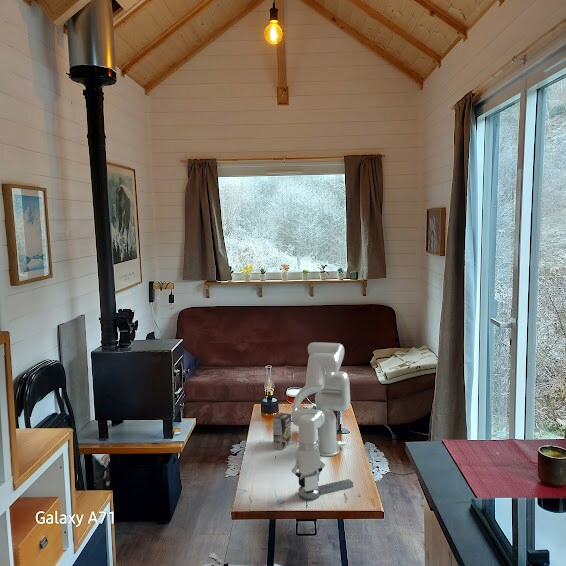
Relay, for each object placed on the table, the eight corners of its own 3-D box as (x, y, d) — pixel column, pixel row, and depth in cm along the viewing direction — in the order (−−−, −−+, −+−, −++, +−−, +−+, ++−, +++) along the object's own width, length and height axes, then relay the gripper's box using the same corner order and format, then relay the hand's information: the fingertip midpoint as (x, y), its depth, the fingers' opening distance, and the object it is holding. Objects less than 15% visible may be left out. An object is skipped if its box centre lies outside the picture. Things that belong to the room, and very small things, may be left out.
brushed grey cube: (312, 482, 231) (312, 469, 230) (318, 488, 226) (317, 475, 225) (299, 485, 229) (299, 471, 228) (305, 491, 223) (305, 478, 223)
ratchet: (346, 480, 239) (346, 468, 239) (356, 489, 231) (356, 477, 230) (295, 492, 230) (295, 480, 230) (303, 502, 222) (303, 490, 221)
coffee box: (283, 450, 272) (283, 419, 270) (273, 447, 276) (272, 417, 274) (292, 443, 280) (291, 413, 278) (281, 441, 283) (281, 412, 281)
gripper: (322, 437, 232) (323, 476, 234) (285, 444, 225) (286, 484, 228) (330, 444, 225) (330, 484, 227) (292, 451, 218) (293, 493, 221)
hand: (308, 484), depth 227 cm, fingers closed on brushed grey cube, 6 cm apart
